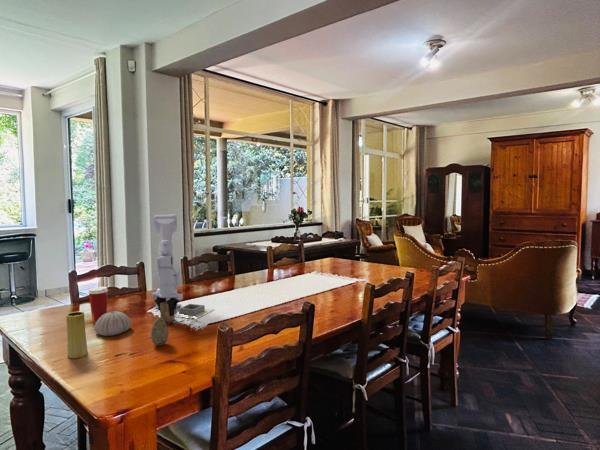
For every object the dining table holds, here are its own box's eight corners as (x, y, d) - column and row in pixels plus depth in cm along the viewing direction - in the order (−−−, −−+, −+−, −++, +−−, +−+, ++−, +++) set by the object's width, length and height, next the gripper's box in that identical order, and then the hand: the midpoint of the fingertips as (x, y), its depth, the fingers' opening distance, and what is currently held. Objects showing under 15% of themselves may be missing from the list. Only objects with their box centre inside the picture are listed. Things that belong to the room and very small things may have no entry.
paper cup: (113, 318, 177) (112, 287, 175) (99, 324, 169) (97, 291, 168) (99, 317, 179) (97, 285, 178) (85, 322, 172) (83, 289, 171)
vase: (72, 351, 141) (70, 311, 140) (91, 351, 141) (88, 310, 140) (63, 359, 135) (61, 316, 133) (83, 358, 135) (80, 316, 134)
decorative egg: (152, 349, 142) (150, 321, 141) (150, 343, 148) (149, 316, 147) (169, 346, 144) (168, 319, 144) (168, 340, 150) (166, 314, 149)
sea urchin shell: (96, 340, 151) (95, 319, 151) (92, 330, 163) (91, 310, 162) (134, 333, 158) (133, 313, 158) (128, 324, 170) (127, 305, 169)
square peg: (160, 321, 172) (160, 302, 172) (166, 318, 176) (166, 300, 175) (168, 322, 171) (168, 303, 170) (174, 319, 175) (174, 301, 174)
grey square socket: (169, 317, 179) (169, 309, 179) (188, 308, 192) (188, 301, 192) (196, 320, 175) (196, 312, 174) (214, 311, 188) (213, 304, 187)
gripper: (145, 284, 171) (147, 316, 172) (174, 286, 166) (176, 319, 167) (156, 280, 177) (158, 311, 179) (185, 282, 173) (186, 314, 174)
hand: (167, 314), depth 173 cm, fingers closed on square peg, 4 cm apart
